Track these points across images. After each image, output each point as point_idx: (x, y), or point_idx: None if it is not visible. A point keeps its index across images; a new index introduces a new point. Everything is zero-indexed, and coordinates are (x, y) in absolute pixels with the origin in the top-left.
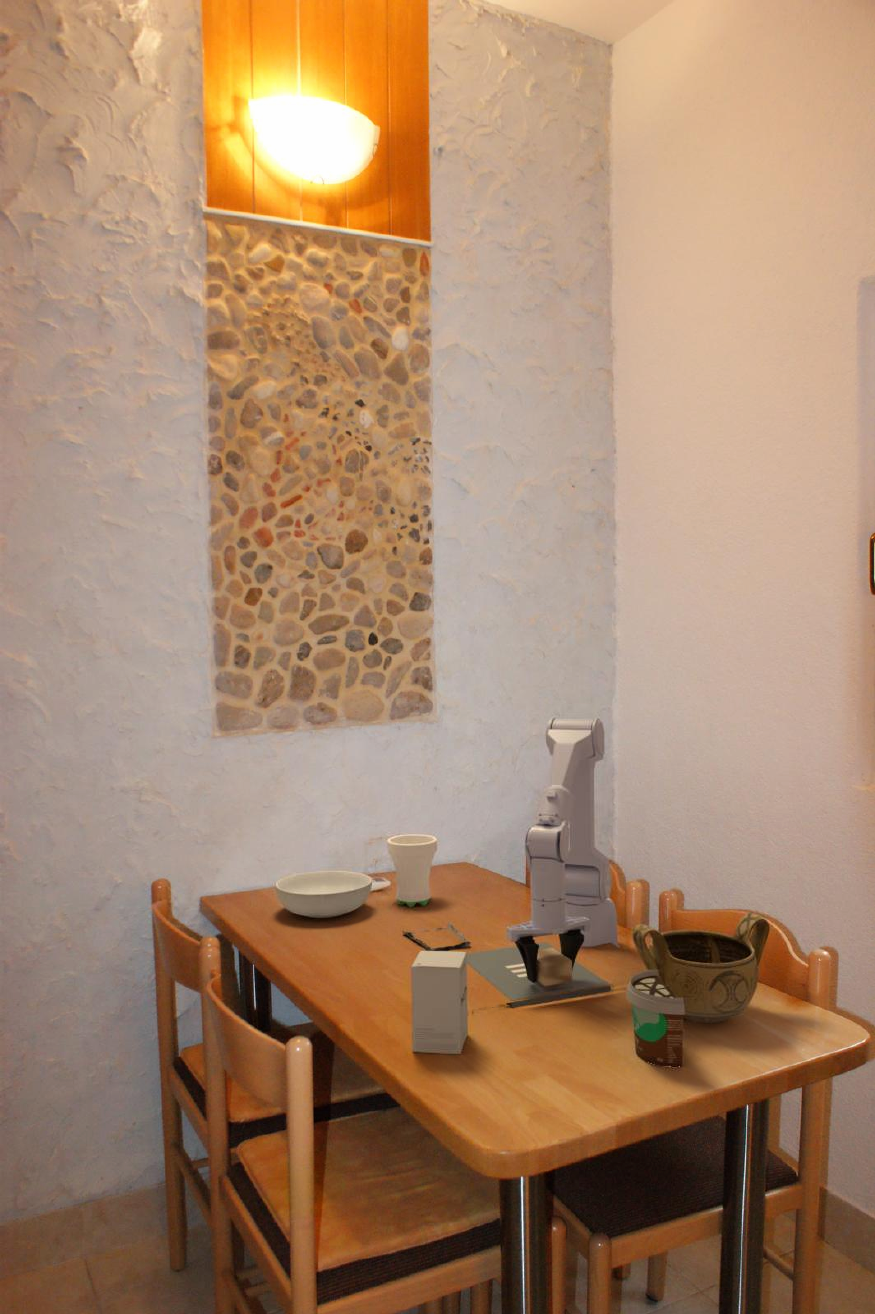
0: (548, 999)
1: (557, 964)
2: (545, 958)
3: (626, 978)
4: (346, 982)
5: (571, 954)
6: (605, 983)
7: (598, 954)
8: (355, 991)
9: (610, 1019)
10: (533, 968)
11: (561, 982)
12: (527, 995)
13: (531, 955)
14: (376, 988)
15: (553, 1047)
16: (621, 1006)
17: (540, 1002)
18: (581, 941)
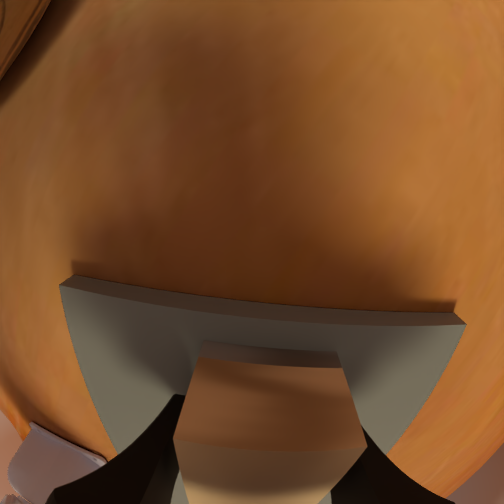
0: (339, 312)
1: (278, 442)
2: (293, 486)
3: (24, 325)
4: (478, 454)
5: (150, 468)
6: (71, 302)
7: (63, 433)
8: (498, 432)
9: (218, 33)
10: (371, 445)
11: (255, 366)
12: (406, 346)
13: (409, 489)
14: (482, 440)
15: (480, 23)
16: (102, 130)
17: (369, 312)
18: (68, 497)
